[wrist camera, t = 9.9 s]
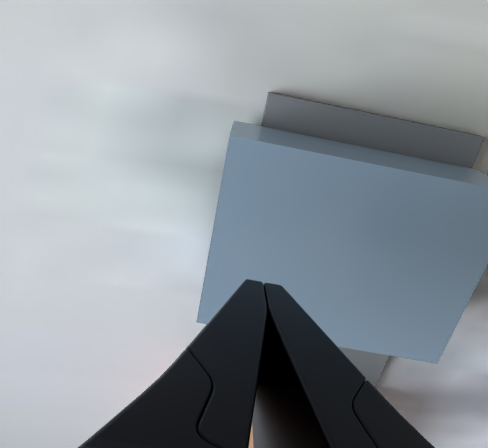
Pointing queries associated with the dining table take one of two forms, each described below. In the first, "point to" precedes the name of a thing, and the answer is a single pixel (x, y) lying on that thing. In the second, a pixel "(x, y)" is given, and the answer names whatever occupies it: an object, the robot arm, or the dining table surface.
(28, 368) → the dining table surface
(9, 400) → the dining table surface
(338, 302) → the blue-grey picture frame
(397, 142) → the grey rectangular block
